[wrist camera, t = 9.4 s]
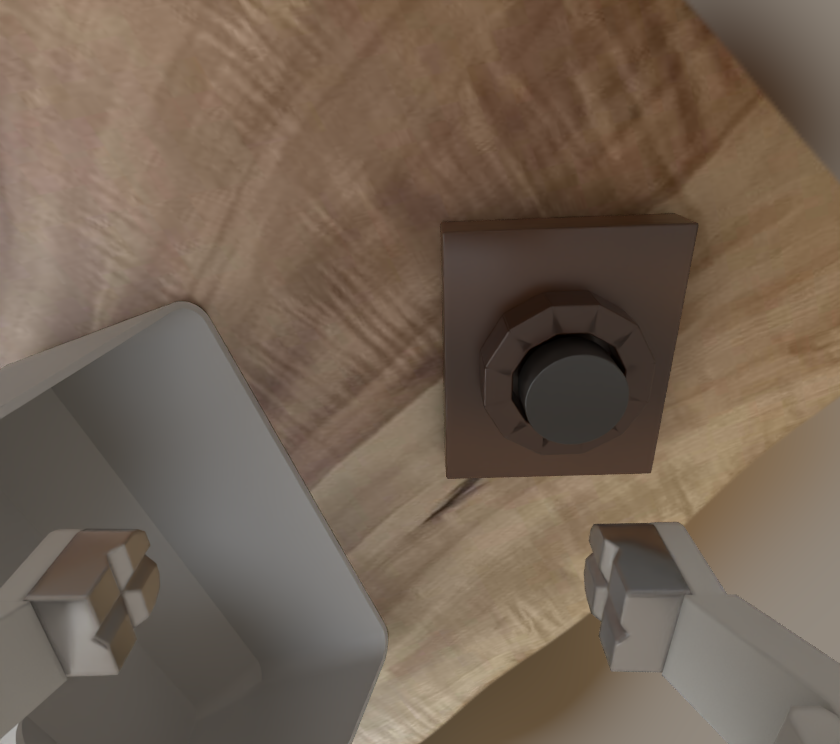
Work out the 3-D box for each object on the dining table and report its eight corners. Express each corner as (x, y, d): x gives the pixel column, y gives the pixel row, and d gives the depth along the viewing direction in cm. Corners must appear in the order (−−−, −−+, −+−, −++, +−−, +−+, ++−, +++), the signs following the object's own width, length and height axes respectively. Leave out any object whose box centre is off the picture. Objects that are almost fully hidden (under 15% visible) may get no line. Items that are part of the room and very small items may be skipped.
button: (520, 338, 21) (527, 356, 20) (620, 334, 21) (636, 352, 20) (515, 423, 23) (522, 446, 22) (608, 420, 23) (622, 443, 22)
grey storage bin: (-86, 394, 27) (-452, 601, 16) (193, 289, 24) (-3, 446, 13) (178, 691, 37) (73, 943, 26) (393, 639, 35) (379, 893, 23)
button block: (440, 221, 23) (443, 242, 19) (675, 212, 23) (723, 232, 19) (444, 453, 28) (448, 504, 25) (635, 448, 28) (666, 498, 24)
